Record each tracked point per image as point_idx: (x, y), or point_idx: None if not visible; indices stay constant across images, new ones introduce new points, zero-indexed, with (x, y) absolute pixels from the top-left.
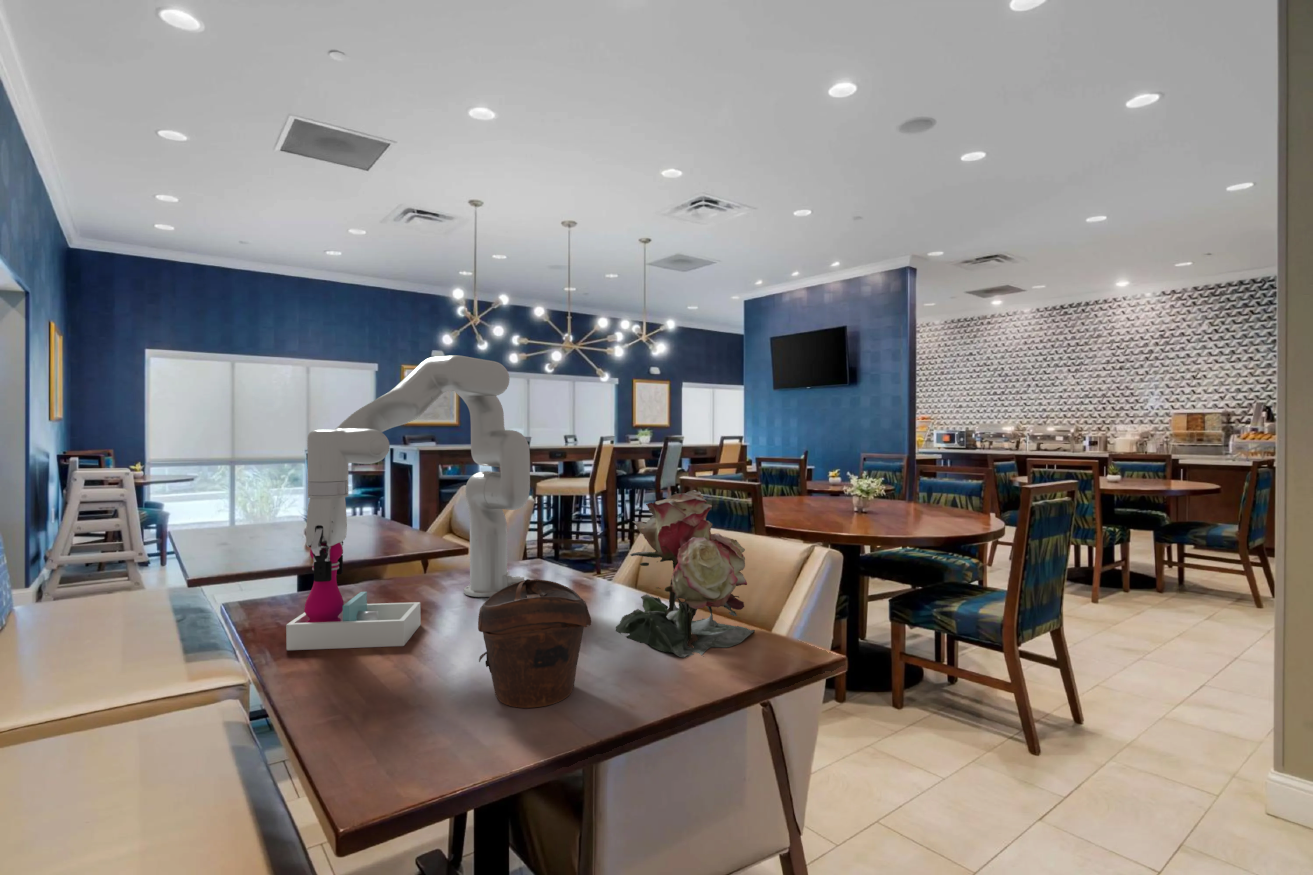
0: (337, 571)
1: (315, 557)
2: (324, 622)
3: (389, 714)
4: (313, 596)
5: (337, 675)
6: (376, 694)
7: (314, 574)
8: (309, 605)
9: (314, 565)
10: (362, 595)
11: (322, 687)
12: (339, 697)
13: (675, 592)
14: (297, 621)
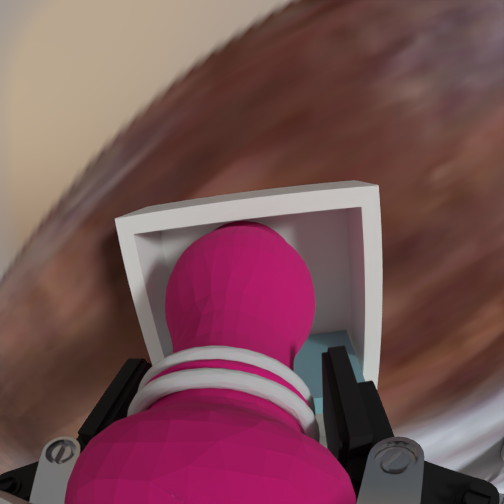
0: (323, 412)
1: (28, 470)
2: (151, 330)
3: (13, 435)
4: (169, 307)
5: (55, 374)
6: (34, 425)
7: (117, 380)
8: (168, 281)
9: (90, 418)
10: (315, 412)
11: (21, 365)
12: (13, 391)
13: None
14: (162, 229)
